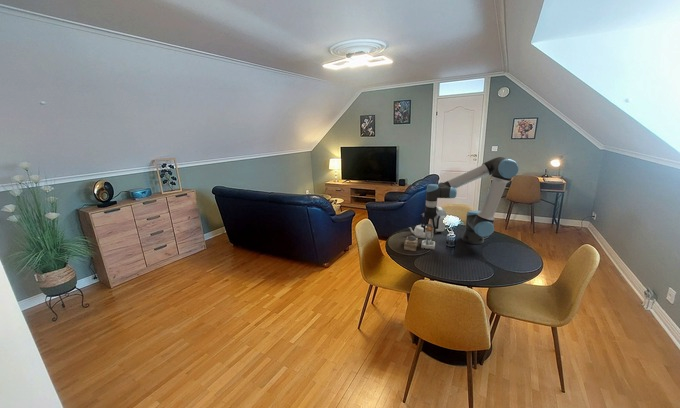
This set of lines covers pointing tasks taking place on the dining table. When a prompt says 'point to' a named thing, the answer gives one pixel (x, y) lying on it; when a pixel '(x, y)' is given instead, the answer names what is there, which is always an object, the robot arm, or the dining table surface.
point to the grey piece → (442, 214)
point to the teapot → (418, 231)
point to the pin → (429, 235)
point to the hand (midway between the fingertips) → (428, 236)
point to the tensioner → (411, 243)
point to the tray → (428, 245)
